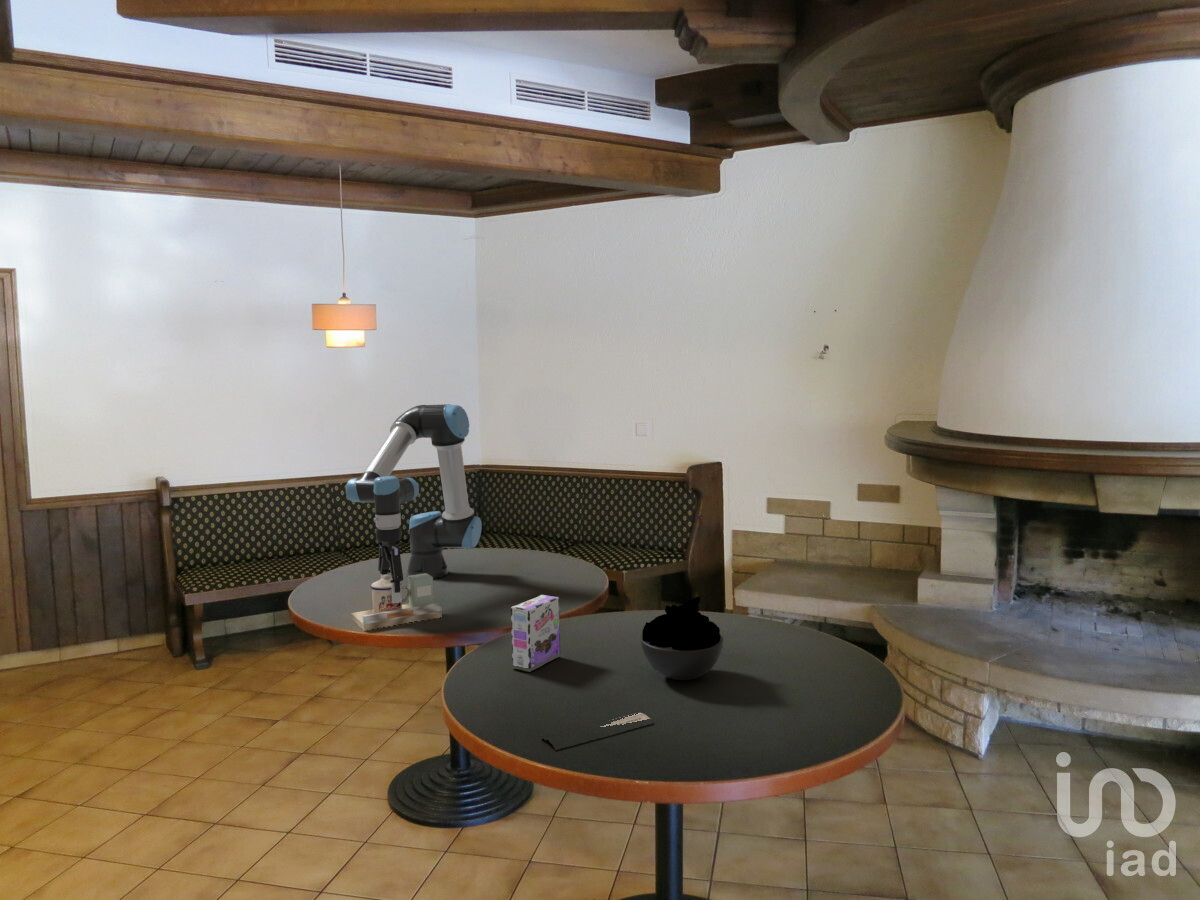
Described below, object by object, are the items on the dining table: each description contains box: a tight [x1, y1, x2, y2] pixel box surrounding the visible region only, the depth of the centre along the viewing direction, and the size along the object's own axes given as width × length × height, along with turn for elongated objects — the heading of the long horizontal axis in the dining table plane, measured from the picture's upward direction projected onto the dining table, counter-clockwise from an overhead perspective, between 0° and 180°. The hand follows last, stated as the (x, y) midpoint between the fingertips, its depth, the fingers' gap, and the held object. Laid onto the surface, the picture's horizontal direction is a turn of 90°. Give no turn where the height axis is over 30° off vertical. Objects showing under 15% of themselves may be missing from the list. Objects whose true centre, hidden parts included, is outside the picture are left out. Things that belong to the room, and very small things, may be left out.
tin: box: [407, 573, 435, 608], centre depth 263 cm, size 6×6×10 cm
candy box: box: [510, 594, 561, 669], centre depth 217 cm, size 14×6×16 cm, turn 148°
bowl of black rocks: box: [640, 596, 724, 681], centre depth 205 cm, size 20×20×19 cm
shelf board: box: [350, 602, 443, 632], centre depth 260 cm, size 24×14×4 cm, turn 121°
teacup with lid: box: [370, 575, 410, 614], centre depth 260 cm, size 12×9×12 cm
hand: (391, 598), depth 260 cm, fingers open, 10 cm apart
